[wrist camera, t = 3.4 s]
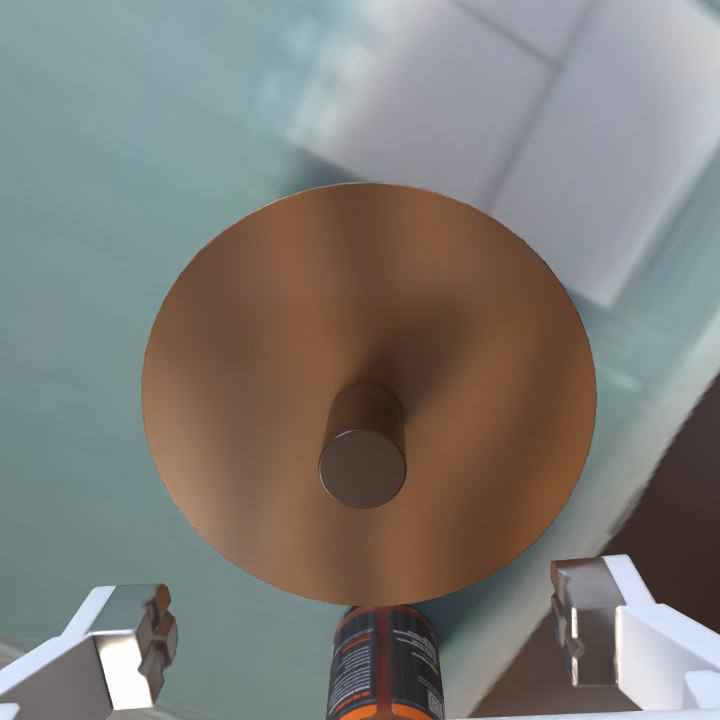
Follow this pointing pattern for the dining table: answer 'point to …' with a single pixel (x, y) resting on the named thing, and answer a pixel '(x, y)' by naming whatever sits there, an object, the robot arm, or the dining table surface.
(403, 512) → the lid
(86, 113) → the dining table surface
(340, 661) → the supplement bottle
